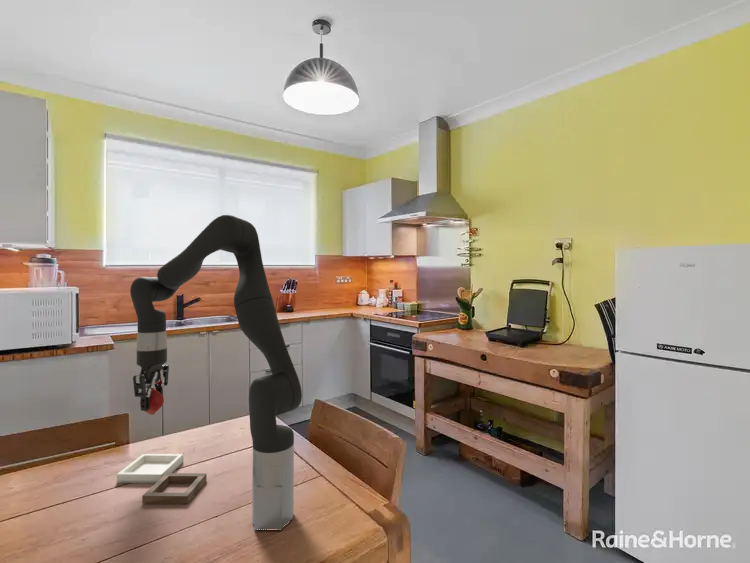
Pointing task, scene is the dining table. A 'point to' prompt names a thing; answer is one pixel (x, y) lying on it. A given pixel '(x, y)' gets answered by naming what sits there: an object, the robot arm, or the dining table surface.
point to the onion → (155, 401)
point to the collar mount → (174, 498)
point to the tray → (149, 468)
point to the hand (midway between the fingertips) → (152, 406)
